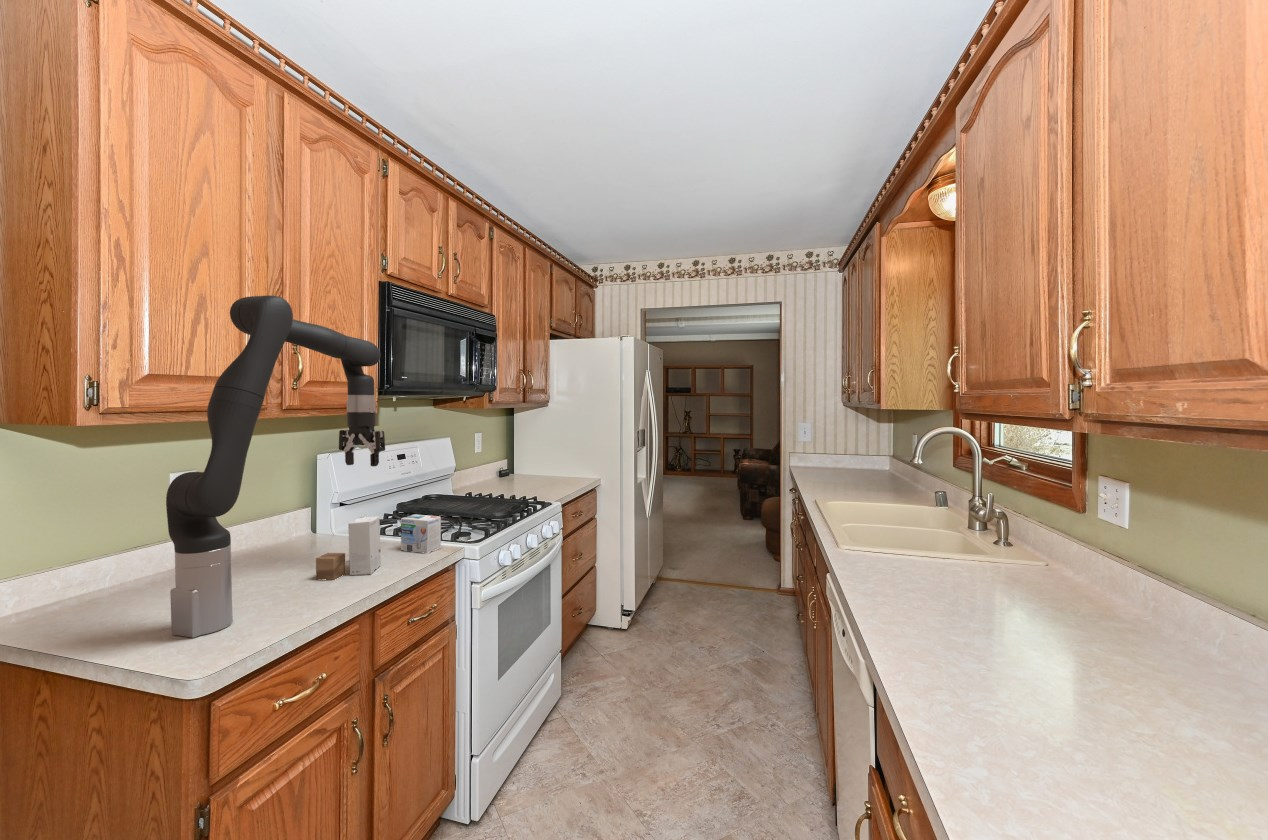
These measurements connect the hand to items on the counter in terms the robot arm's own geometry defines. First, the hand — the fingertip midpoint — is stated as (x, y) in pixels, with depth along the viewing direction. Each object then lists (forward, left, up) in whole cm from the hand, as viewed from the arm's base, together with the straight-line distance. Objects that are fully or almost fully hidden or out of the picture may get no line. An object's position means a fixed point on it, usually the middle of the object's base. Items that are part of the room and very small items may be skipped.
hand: (362, 465), depth 154 cm
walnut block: (-12, 0, -29) cm, 32 cm away
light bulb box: (+17, -7, -30) cm, 35 cm away
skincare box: (-5, -5, -30) cm, 30 cm away
